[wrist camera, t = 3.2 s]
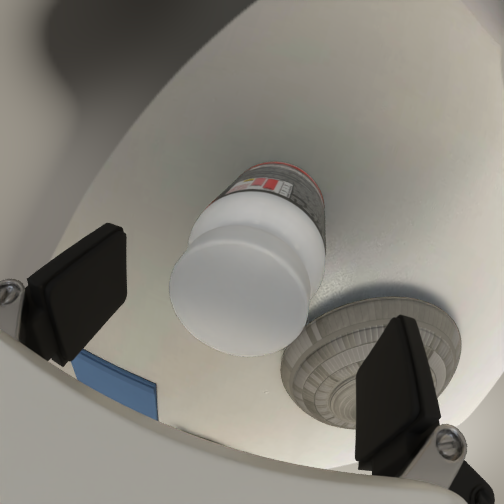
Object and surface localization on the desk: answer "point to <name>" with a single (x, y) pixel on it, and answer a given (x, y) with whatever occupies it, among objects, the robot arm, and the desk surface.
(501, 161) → the desk surface
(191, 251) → the pill bottle
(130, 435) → the robot arm
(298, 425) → the desk surface
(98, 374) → the cloth
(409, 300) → the flying saucer
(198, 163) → the desk surface
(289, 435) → the desk surface
